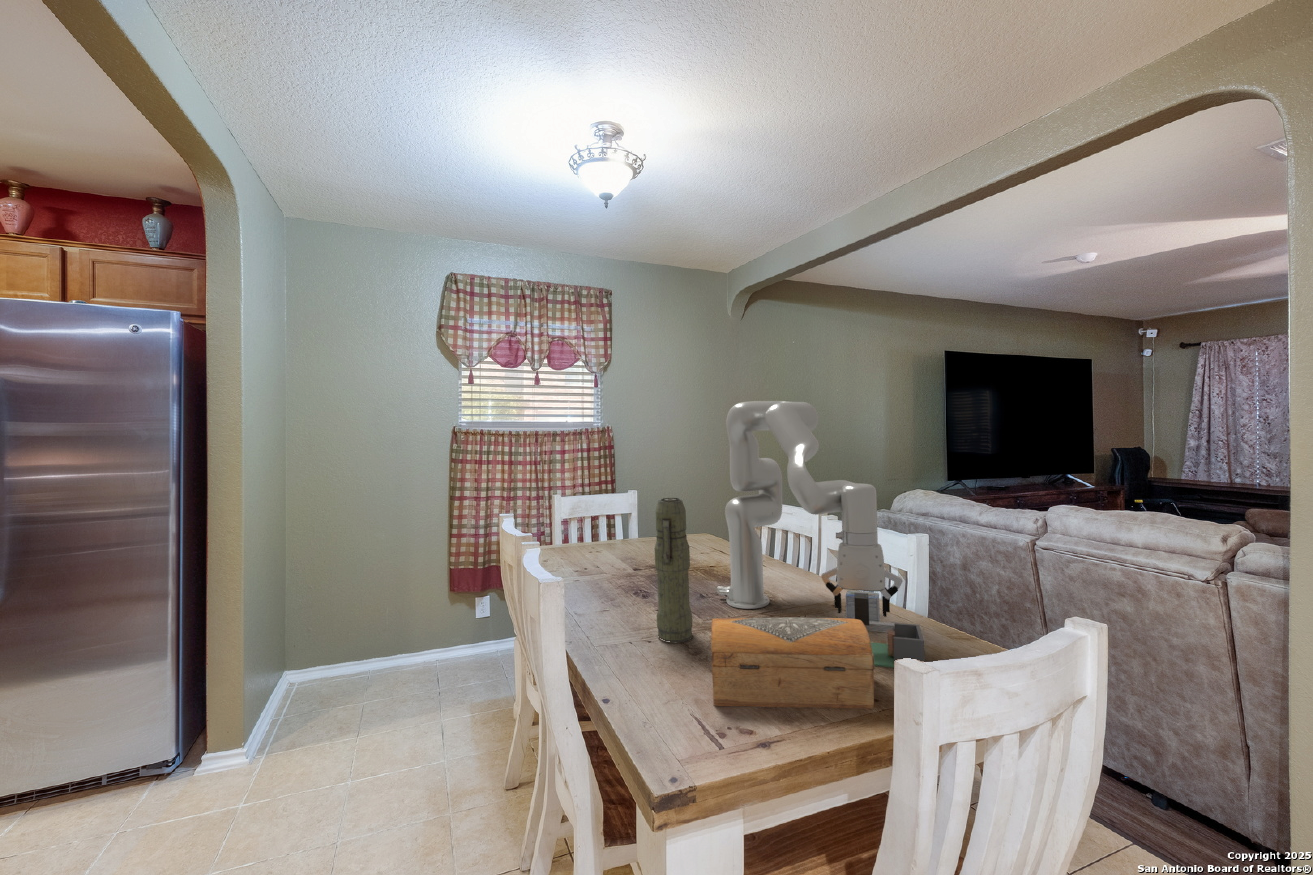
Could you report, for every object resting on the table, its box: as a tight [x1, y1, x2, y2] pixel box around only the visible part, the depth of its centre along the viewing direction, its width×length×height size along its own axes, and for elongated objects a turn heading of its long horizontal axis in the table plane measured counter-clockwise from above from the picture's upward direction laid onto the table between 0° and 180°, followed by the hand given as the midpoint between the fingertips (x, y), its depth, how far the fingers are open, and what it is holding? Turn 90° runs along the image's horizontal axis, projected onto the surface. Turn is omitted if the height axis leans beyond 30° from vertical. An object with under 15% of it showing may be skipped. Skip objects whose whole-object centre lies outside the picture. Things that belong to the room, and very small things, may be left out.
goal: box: [890, 621, 926, 663], centre depth 123 cm, size 6×10×6 cm, turn 160°
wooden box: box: [710, 616, 875, 710], centre depth 111 cm, size 30×16×14 cm, turn 83°
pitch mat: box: [870, 641, 895, 669], centre depth 125 cm, size 14×12×1 cm
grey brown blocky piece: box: [854, 593, 895, 657], centre depth 126 cm, size 15×4×12 cm, turn 70°
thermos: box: [654, 497, 693, 643], centre depth 140 cm, size 9×12×35 cm
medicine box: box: [845, 590, 881, 622], centre depth 142 cm, size 8×4×9 cm, turn 65°
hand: (861, 613), depth 126 cm, fingers open, 9 cm apart
